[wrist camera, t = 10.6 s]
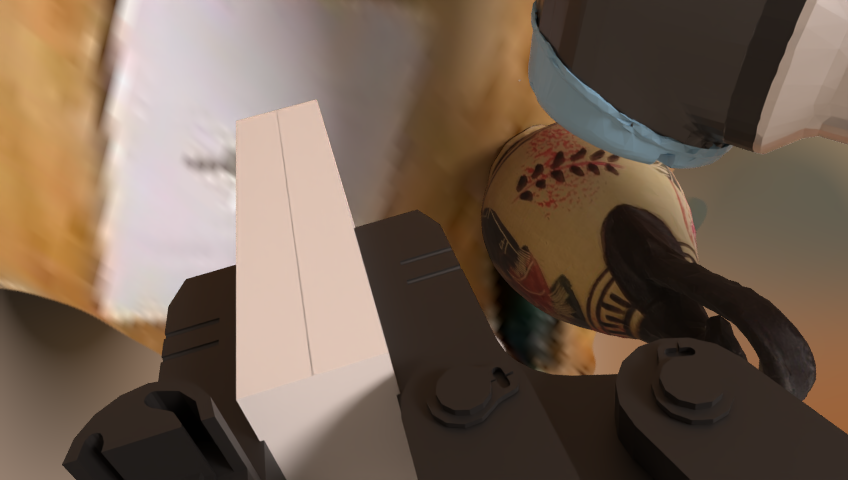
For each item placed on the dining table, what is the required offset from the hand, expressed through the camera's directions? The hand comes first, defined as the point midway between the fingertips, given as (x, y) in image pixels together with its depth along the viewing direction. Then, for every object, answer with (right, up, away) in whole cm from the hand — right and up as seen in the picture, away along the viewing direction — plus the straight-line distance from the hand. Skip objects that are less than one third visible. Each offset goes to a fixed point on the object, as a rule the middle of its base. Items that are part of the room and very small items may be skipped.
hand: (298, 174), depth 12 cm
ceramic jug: (+13, +6, +44) cm, 46 cm away
